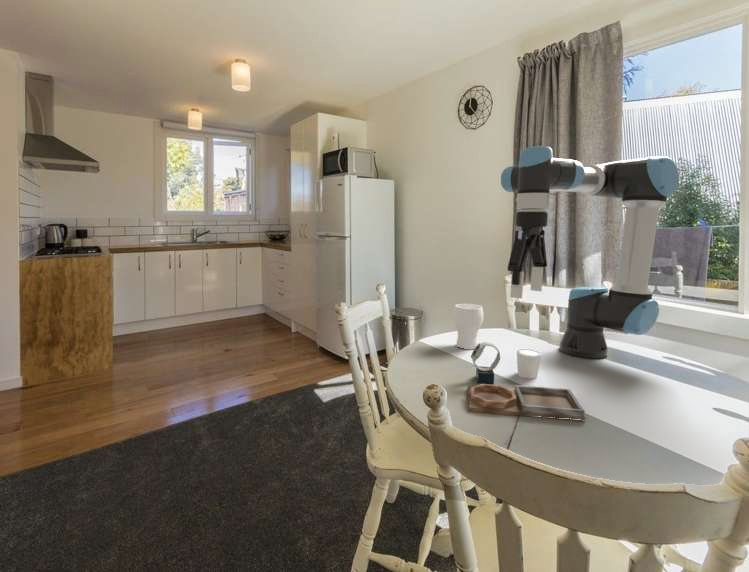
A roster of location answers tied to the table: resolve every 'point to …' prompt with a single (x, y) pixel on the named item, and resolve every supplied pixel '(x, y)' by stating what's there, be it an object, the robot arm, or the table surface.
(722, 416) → the table surface
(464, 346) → the cup
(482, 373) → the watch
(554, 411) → the sorting board
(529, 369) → the white cylinder
